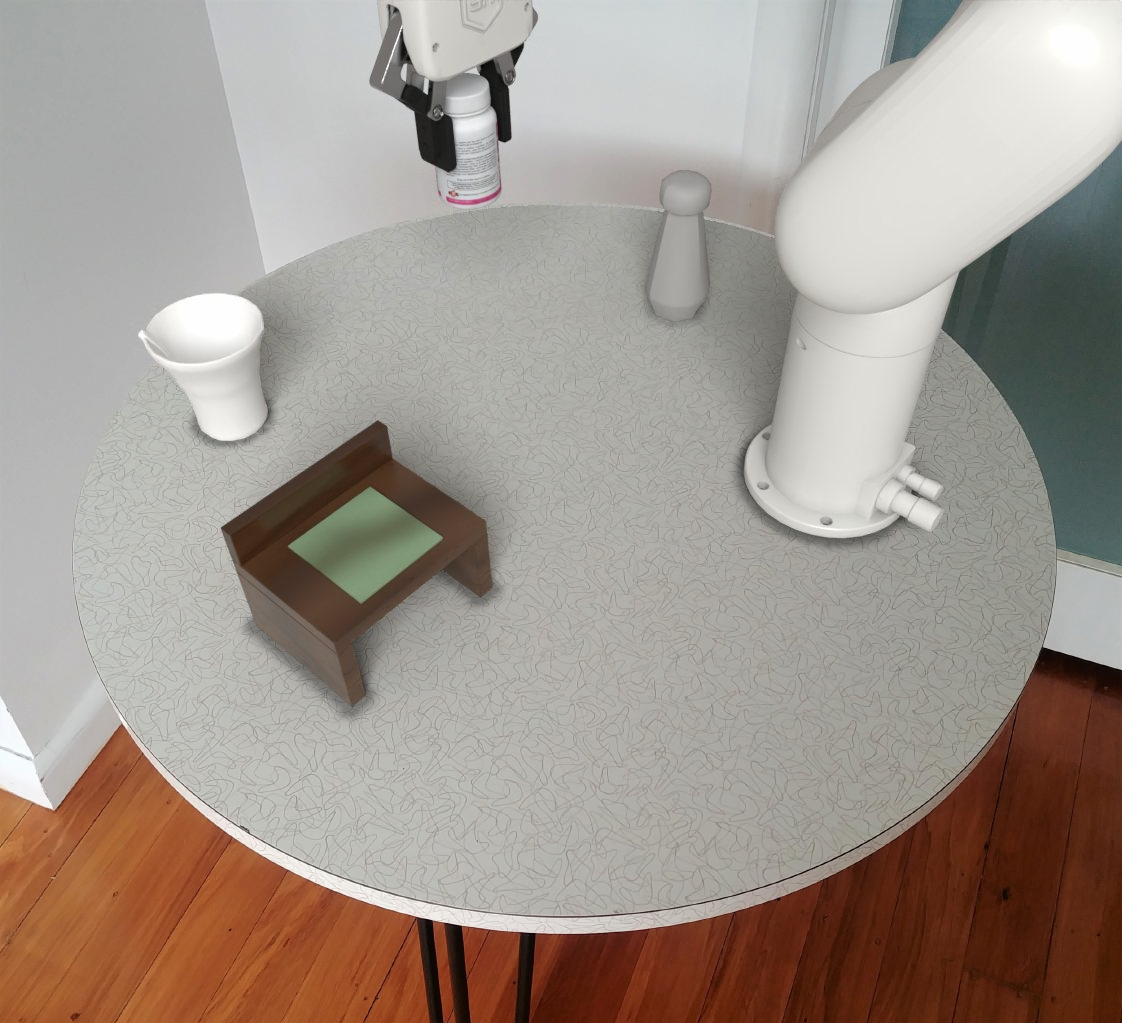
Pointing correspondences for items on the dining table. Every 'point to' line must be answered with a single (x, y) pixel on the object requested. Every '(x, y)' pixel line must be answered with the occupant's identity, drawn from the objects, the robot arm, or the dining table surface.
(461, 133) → the pill bottle
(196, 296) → the cup
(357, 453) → the shelf
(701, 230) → the salt shaker
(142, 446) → the dining table surface
